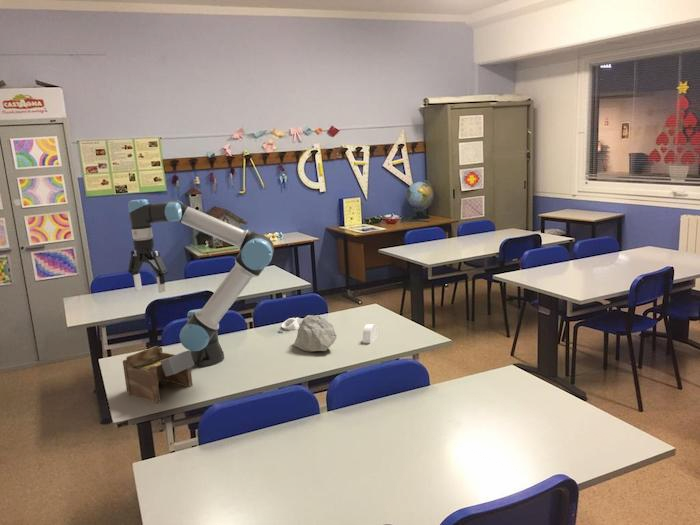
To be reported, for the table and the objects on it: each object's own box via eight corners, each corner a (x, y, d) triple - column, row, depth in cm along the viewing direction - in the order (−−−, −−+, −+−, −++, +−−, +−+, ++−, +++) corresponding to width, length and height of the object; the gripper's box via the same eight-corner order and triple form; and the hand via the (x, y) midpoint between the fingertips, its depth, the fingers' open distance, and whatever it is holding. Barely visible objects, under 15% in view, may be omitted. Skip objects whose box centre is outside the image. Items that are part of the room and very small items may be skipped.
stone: (136, 370, 212) (134, 364, 212) (131, 370, 216) (129, 364, 216) (168, 359, 221) (167, 353, 220) (163, 359, 224) (162, 353, 224)
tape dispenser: (356, 342, 273) (355, 320, 270) (392, 345, 265) (391, 323, 263) (349, 349, 264) (347, 326, 262) (386, 352, 257) (384, 329, 255)
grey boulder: (342, 349, 256) (340, 317, 253) (324, 359, 246) (321, 325, 243) (305, 342, 270) (302, 311, 267) (286, 350, 259) (283, 318, 256)
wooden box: (163, 379, 234) (159, 344, 231) (192, 386, 224) (188, 350, 222) (127, 395, 220) (122, 358, 217) (156, 403, 210) (151, 365, 208)
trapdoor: (165, 372, 229) (160, 358, 229) (197, 363, 217) (192, 348, 217) (138, 384, 218) (133, 369, 218) (170, 375, 206) (165, 360, 206)
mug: (296, 344, 285) (287, 328, 281) (286, 342, 291) (277, 326, 288) (312, 329, 291) (304, 313, 288) (302, 327, 298) (294, 312, 294)
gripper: (114, 239, 229) (121, 291, 233) (157, 240, 216) (164, 295, 220) (129, 236, 235) (136, 287, 239) (172, 237, 223) (179, 290, 227)
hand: (150, 291), depth 230 cm, fingers open, 13 cm apart
